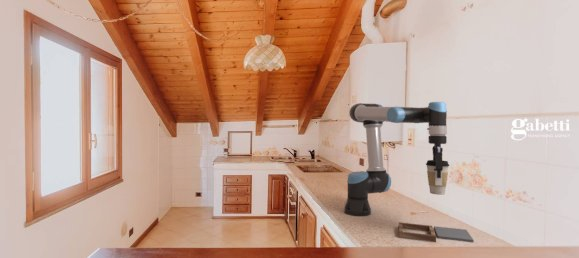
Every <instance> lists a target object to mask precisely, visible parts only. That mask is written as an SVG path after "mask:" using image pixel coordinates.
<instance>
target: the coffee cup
mask: <svg viewBox="0 0 579 258" xmlns="http://www.w3.org/2000/svg"><path fill="white" fill-rule="evenodd" d="M425 165H426V170H427V171H426V173H427V175H426V176H427V181H428V187H429V193H430V194H432V195H436V196H438V195H445V194H446V188H447V182H448V174H449V172H448V170H449V167H450V164H449V162H448V160H442V166H443V170H442V185H435V171H434V169H436V164H435V160H433V159H428V160H427V162H426V163H425Z"/></svg>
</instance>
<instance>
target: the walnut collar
mask: <svg viewBox="0 0 579 258" xmlns="http://www.w3.org/2000/svg"><path fill="white" fill-rule="evenodd" d="M404 230H410V232H408V231H404ZM411 230H412V231H418V232H411ZM419 231H421V232H428V233H429V234H427V233H419ZM398 237H399V239H406V240H415V241H422V242H423V241H424V242H430V243H437V234H436V232H435V229H434V226H433V225H429V224H426V225H425V224H419V223H418V224H417V223H411V222H410V223H408V222H407V223H406V222H398Z"/></svg>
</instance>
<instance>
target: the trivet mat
mask: <svg viewBox="0 0 579 258" xmlns="http://www.w3.org/2000/svg"><path fill="white" fill-rule="evenodd" d="M433 230H434V232H435V235H436V238H437V239H442V240H450V241H457V242H458V241H459V242H467V243H474V239H473V237H472V236H471V234H470V233H469V231H468V229H464V228H456V227H455V228H454V227H445V226H433Z"/></svg>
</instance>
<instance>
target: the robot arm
mask: <svg viewBox="0 0 579 258" xmlns="http://www.w3.org/2000/svg"><path fill="white" fill-rule="evenodd" d="M447 112H448V110H447V103H446V102H444V101H431V102H429V103H428V106H425V107H409V106H407V107H405V106H383V105H381V104H379V103H361V102H360V103H355V104H353V105H352V106H351V107H350V109H349V117H350V119H351V120H352V121H353V122H356V123H362V126H363V128H365V134H366V135H365V136H366V146H367V147H366V149H367V164H368V167H367V169H366V170H364V171H361V170H360V171H353V172H350V173H349V174H348V175H347V180H346V183H347V197H346V198H347V199H346V202H345V205H344V213H345V214H347V215H350V216H355V217H356V216H357V217H365V216H370V215H371V214H372V207H371V206H370V202H369V194H381V193H386V192H387V191H389V189H390V187H391V186H392V177H391V176H390V175H391V174H390V173H387V169H386V168H385V167H384V162H383V160H384V158H383V147H382V145H383V144H382V136H381V135H382V132H381V130H382V129H381V128H382V126H383V125H384V124H383V123H384V122H386V123H387V122H388V123H389V122H390V123H395V124H401V123H402V124H403V123H405V124H406V123H408V124H425V123H426V124H427V123H428V127H427V128H426V130H427V131H428V134H429V135H428V143H429V144H430V145H433V146H432V160H435V164H436V169H434V171H435V185H442V170H443V166H442V161H443V149H444V148H443V147H442V145H446V144H447V143H448V142H447V136H446V135H447V133H448V131H447V130H448V129H447V116H448V115H447V114H448V113H447Z"/></svg>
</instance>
